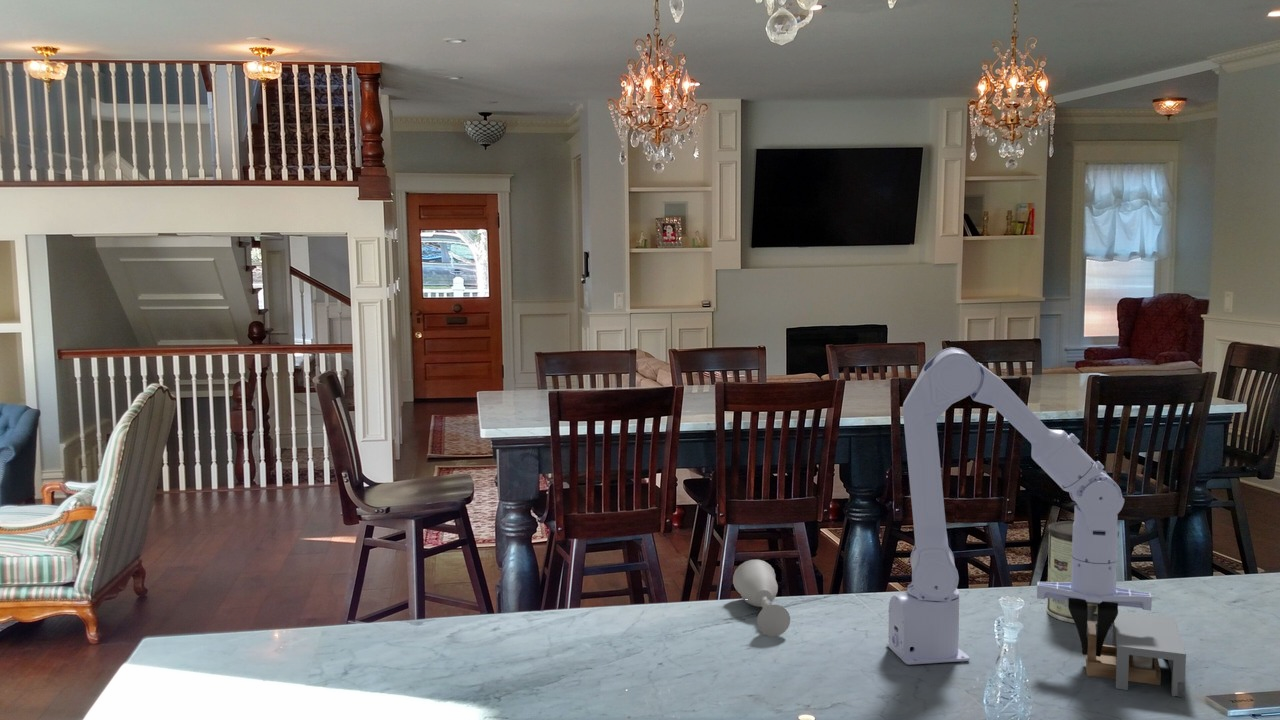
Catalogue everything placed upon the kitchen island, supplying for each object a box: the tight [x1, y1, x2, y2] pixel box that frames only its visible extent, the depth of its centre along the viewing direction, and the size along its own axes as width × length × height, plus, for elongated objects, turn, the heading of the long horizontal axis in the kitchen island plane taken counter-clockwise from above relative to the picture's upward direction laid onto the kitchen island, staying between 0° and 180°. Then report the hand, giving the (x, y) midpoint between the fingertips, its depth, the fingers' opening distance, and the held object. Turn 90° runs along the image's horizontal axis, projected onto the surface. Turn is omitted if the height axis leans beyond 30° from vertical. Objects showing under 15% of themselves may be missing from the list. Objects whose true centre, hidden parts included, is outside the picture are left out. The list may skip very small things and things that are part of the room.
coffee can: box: [1046, 520, 1120, 626], centre depth 163 cm, size 10×10×14 cm
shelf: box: [1111, 610, 1187, 698], centre depth 140 cm, size 8×15×6 cm, turn 157°
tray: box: [1085, 622, 1162, 686], centre depth 142 cm, size 9×8×5 cm
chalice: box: [732, 559, 791, 637], centre depth 164 cm, size 7×7×18 cm
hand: (1091, 653), depth 143 cm, fingers closed on tray
